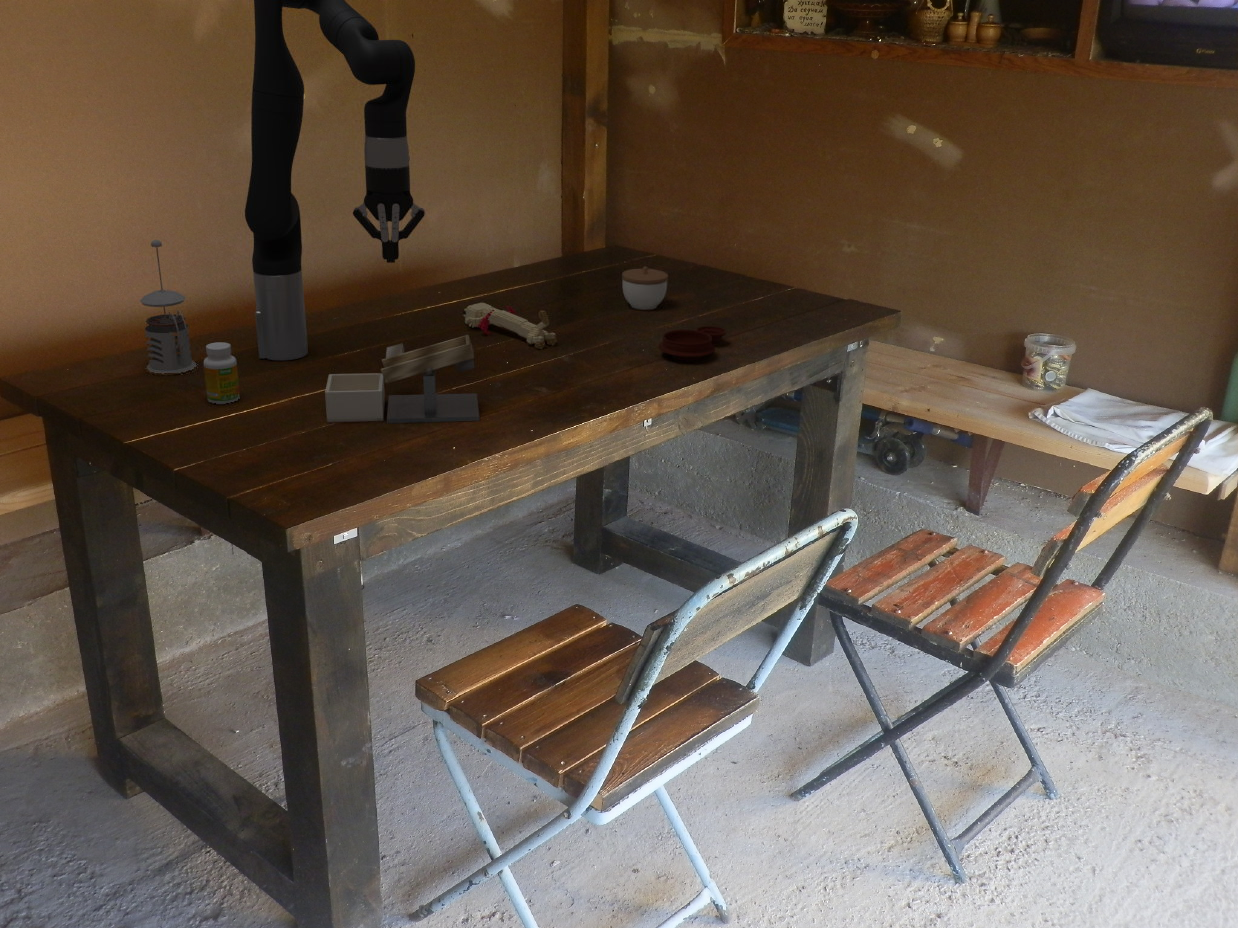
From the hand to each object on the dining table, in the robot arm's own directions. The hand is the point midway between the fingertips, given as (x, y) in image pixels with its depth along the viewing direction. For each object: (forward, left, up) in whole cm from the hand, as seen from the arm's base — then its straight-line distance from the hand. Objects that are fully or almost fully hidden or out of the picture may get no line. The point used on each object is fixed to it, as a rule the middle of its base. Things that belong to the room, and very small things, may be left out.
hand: (391, 261), depth 214 cm
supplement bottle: (-31, -1, -25) cm, 40 cm away
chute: (+7, -6, -18) cm, 20 cm away
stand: (+6, -9, -25) cm, 27 cm away
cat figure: (+23, +36, -25) cm, 50 cm away
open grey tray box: (-7, -9, -25) cm, 27 cm away
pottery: (+61, +22, -25) cm, 70 cm away
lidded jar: (+56, +57, -25) cm, 84 cm away
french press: (-43, +17, -25) cm, 53 cm away
